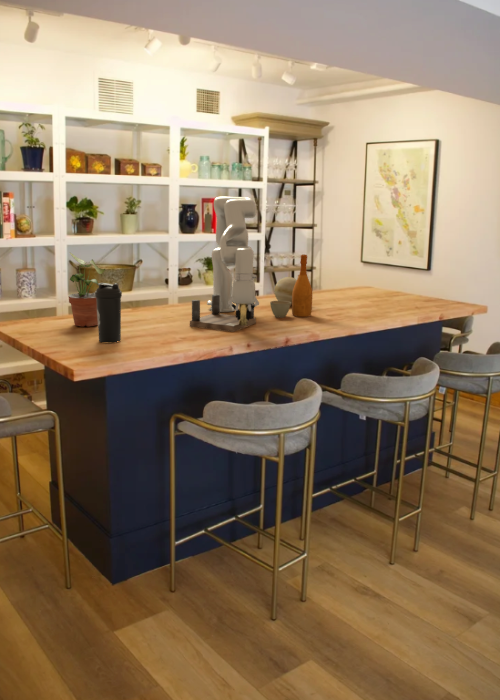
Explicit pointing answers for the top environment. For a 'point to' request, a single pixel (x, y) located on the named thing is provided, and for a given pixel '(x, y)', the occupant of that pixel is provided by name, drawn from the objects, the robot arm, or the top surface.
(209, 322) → the stool seat
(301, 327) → the top surface
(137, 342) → the top surface
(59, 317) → the top surface
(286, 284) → the decorative ball
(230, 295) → the robot arm
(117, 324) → the water bottle
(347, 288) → the top surface
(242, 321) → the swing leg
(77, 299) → the potted plant
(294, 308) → the wine bottle
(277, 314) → the flower pot
